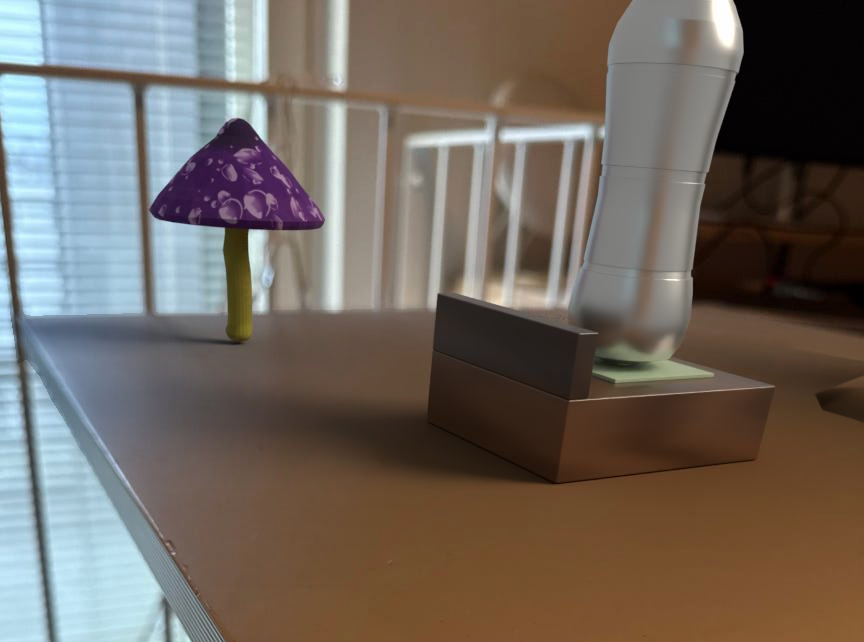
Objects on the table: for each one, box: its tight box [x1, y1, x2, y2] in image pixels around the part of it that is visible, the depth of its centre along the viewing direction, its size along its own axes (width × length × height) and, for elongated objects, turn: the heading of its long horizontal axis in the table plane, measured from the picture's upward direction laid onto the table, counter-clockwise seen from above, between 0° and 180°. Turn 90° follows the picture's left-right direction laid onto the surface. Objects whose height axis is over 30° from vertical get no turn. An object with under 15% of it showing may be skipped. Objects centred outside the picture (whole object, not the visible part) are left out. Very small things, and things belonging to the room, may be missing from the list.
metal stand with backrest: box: [426, 292, 776, 484], centre depth 52 cm, size 14×12×7 cm
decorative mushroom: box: [148, 117, 326, 344], centre depth 69 cm, size 12×12×15 cm
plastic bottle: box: [567, 0, 745, 365], centre depth 48 cm, size 6×7×20 cm
